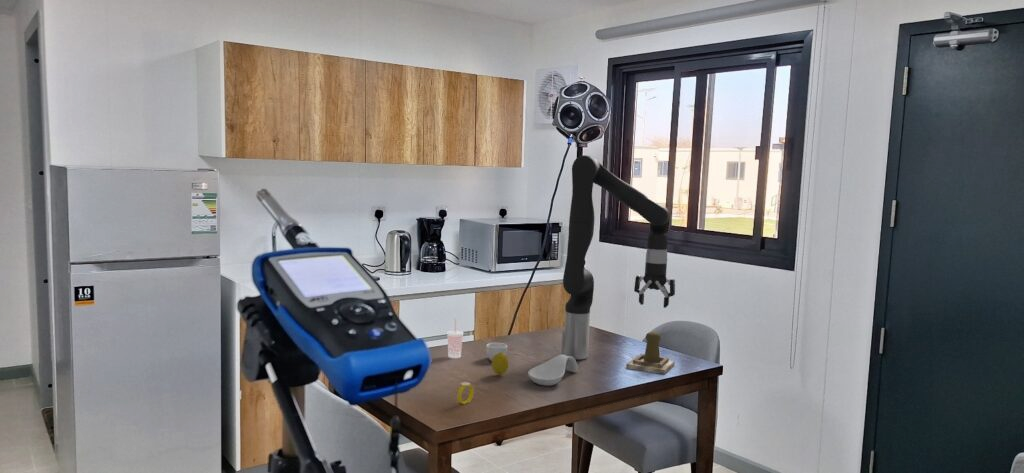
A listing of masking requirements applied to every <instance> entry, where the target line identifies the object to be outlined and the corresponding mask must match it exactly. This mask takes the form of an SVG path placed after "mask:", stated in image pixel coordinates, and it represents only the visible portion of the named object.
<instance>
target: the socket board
mask: <svg viewBox="0 0 1024 473" xmlns="http://www.w3.org/2000/svg"><path fill="white" fill-rule="evenodd" d="M644 356H645V353H640V354H637V355H636V356H635V357H632V359H631V360H630V361H628V362H627V363H626V364H625V366H626V369H632V370H637V371H642V372H649V373H655V374H660V373H662V374H661V375H666V374H667V373H668V372H669V371H671V369H672V368H674V366H675V360H671V359H670V358H669V357H663V356H660V363H653V362H647V361H644ZM666 372H667V373H666ZM665 373H666V374H665Z"/></svg>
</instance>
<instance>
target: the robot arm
mask: <svg viewBox="0 0 1024 473" xmlns="http://www.w3.org/2000/svg"><path fill="white" fill-rule="evenodd" d="M571 178H572V179H571V180H572V181H571V182H572V184H571V186H572V190H571V191H572V192H571V193H572V194H571V203H570V209H569V210H570V212H569V220H568V237H567V238H568V239H567V249H566V252H567V253H566V260H565V266H564V270H563V277H562V284H563V289H564V290H565V292H566V293H567V294H569V295H570V297H569V299H568V301H567V302H566V304H565V308H564V309H565V310H564V311H565V312H564V329H563V331H562V332H561V333H562V334H561V353H560V355H566V356H571V357H573V358H574V359H575V360H585V359H588V357H589V340H590V338H589V336H590V320H591V319H590V318H591V317H590V315H591V307H592V305H593V301H594V298H593V297H594V290H595V288H594V287H595V279H594V276H593V273H592V272H591V271H590V270H588V269H587V268H585V262H586V261H585V259H586V255H587V253H588V250H589V247H590V245H591V243H592V240H593V236H594V234H595V233H594V231H595V209H594V202H593V188H594V184H595V185H597V186H598V187H601V188H602V189H604V190H605V191H606V192H607V193H609V194H610V195H612V196H613V197H614V198H615V199H616V200H617V201H619V202H620V203H621V204H622V205H624V206H626V207H627V208H629V209H630V210H632V211H634V212H635V213H637V214H638V215H639V216H641V218H642V219H643V218H644V220H646V221H647V222H648V223H649V232H648V236H647V242H646V243H647V244H646V252H645V253H646V254H645V265H644V266H645V267H644V275H636V276H635V279H634V280H635V281H634V289H633V291H634V292H635V293H637V294H638V304H640V305H642V306H643V305H644V304H645V292H646V291H647V290H648V289H649V290H655V291H660V292H661V293H662V294H663V295H664V297H663V308H665V309H666V308H667V307H669V304H670V297H674V296H675V295H676V280H675V278H671V279H670V278H667V265H668V235H669V234H668V233H669V227H670V222H671V213H670V211H669V209H668V208H667V207H666V206H664V205H661V204H660V205H659V204H658V203H657V202H655V201H653V200H652V199H650V198H649V197H648V196H647V195H646V194H644V193H643V192H641V191H640V190H639V189H637V188H636V187H635V186H632V185H630V184H629V183H628V182H625V181H624V180H622V179H620V178H619V177H618V176H616V174H614V173H612V172H611V171H609V170H608V169H607V168H606V167H605V166H603V164H602V163H601V162H600V161H599V160H597V159H596V158H595V157H594V156H591V155H585V154H584V155H580V156H578V157H576V158H575V160H574V161H573V163H572V165H571ZM642 281H643V282H644V284H645V285H644V286H643V287H641V288H640V286H641V282H642ZM666 284H667V285H668V286H669V291H668V288H667V287H666V286H665V285H666Z"/></svg>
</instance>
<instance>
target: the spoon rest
mask: <svg viewBox="0 0 1024 473" xmlns="http://www.w3.org/2000/svg"><path fill="white" fill-rule="evenodd" d="M576 360H577V359H574V358H573V357H571V356H566V355H561V354H558V355H556V356H554V357H552V358H551V359H549V360H547V361H544V362H543V363H540V364H539V365H537V366H534V367H532V368H530V369H529V370H528V371H527V376H528V377H529V378H530V380H531V381H532V382H534V383H535V384H537V385H539V386H544V387H545V386H546V387H549V386H551V387H552V386H554V385H556V384H557V383H559V382H560V381H561V380H562V379H563V378H564V375H565V372H566V371H567V372H570V373H571V372H572V373H575V374H576V373H579V366H578V363H577V361H576Z"/></svg>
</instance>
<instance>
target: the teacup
mask: <svg viewBox="0 0 1024 473" xmlns="http://www.w3.org/2000/svg"><path fill="white" fill-rule="evenodd" d="M485 350H486V356H487V358H488V359H489V360H490V361H492V360H493V357H494V356H495V355H496V354H498V353H500V352H502V353H503V354H505V355H506V356H507V354H508V345H507V343H504V342H489V343H487V344H486V345H485Z"/></svg>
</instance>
